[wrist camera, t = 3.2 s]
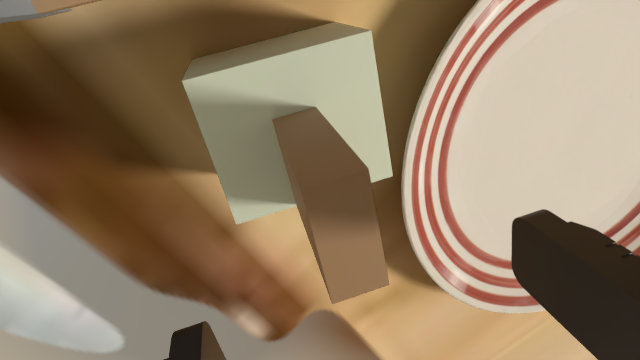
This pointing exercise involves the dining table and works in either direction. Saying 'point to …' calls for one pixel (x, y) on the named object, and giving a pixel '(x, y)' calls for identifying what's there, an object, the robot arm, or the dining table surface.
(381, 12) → the dining table surface
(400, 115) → the dining table surface
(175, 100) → the dining table surface
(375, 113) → the green and brown blocks
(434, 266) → the dinner plate
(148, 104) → the dining table surface
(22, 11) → the board
